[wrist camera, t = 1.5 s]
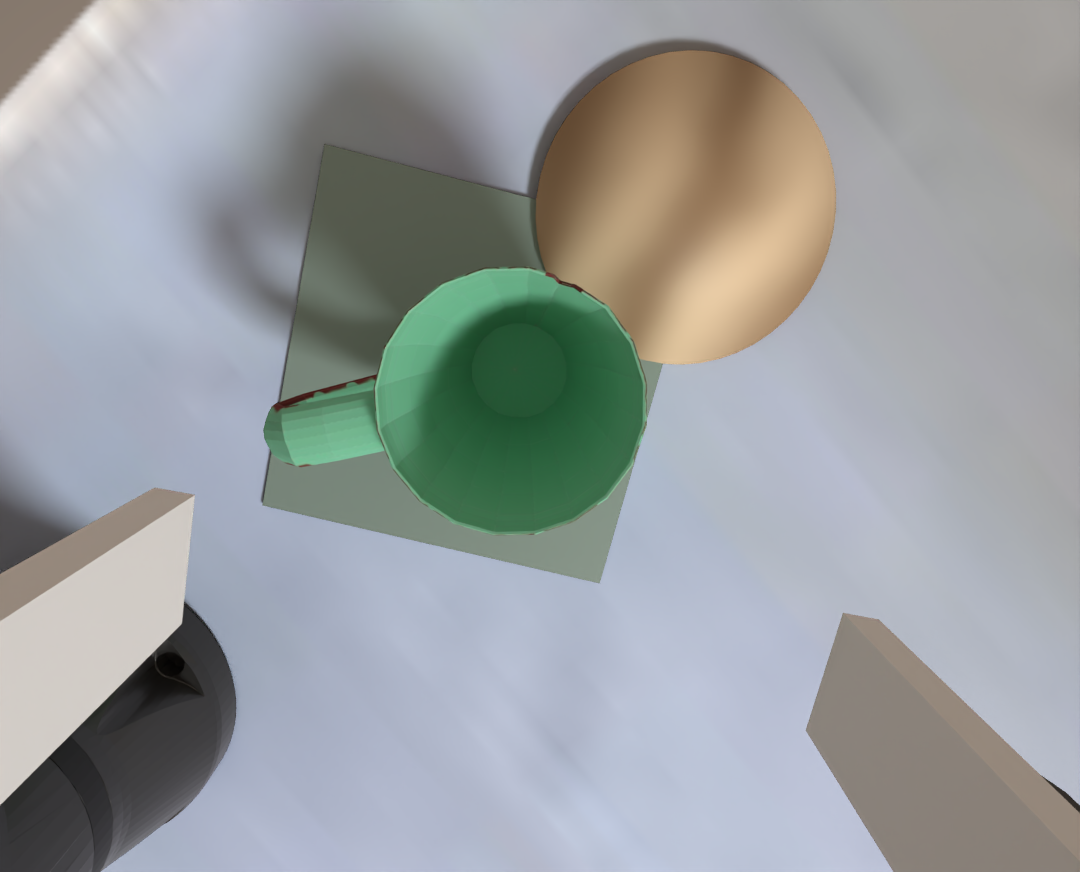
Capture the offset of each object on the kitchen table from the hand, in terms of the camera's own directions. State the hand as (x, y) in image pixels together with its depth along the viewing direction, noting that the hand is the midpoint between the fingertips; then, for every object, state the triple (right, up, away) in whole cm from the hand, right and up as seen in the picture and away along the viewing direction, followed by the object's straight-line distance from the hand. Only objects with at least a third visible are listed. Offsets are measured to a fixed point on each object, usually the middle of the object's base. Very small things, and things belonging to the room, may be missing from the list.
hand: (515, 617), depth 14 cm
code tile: (-3, +6, +21) cm, 22 cm away
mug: (-3, +6, +21) cm, 22 cm away
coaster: (+7, +14, +19) cm, 25 cm away
